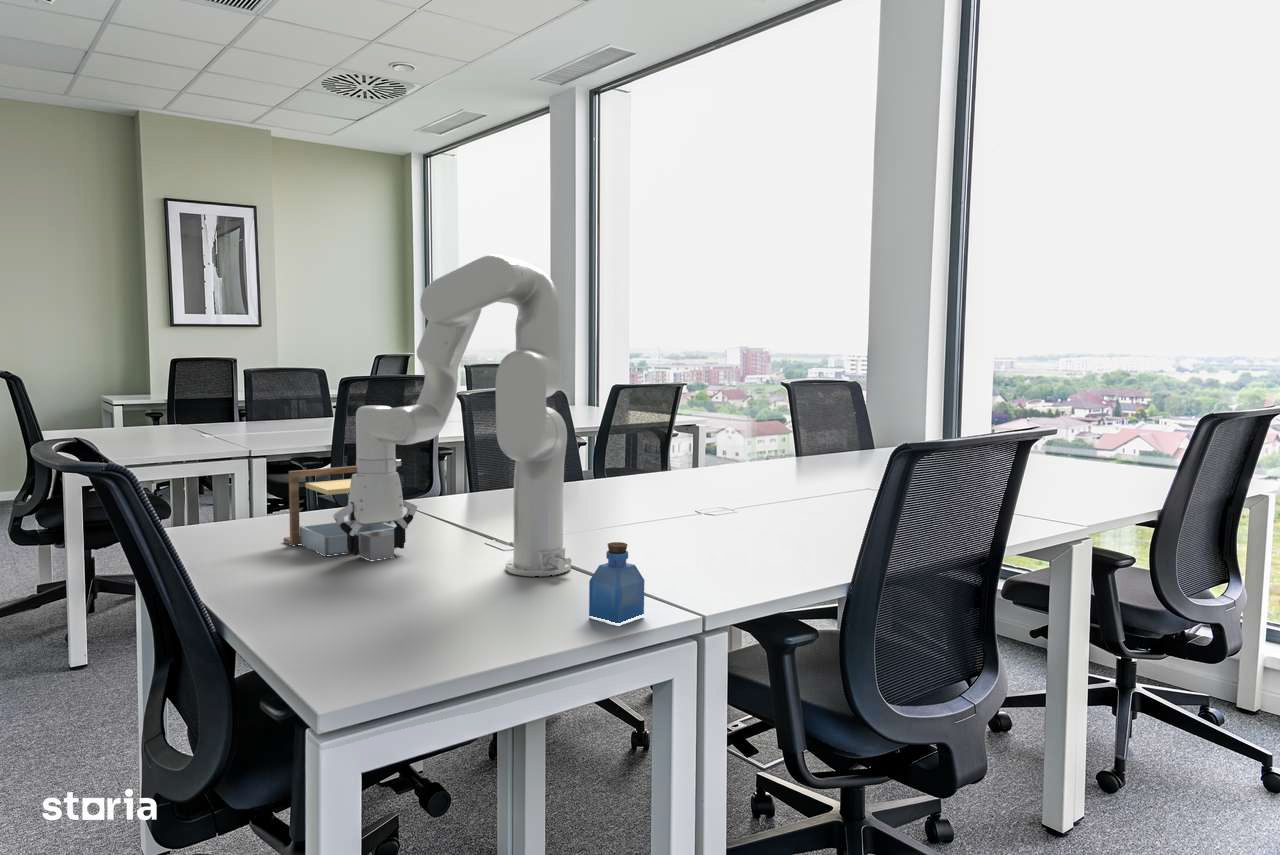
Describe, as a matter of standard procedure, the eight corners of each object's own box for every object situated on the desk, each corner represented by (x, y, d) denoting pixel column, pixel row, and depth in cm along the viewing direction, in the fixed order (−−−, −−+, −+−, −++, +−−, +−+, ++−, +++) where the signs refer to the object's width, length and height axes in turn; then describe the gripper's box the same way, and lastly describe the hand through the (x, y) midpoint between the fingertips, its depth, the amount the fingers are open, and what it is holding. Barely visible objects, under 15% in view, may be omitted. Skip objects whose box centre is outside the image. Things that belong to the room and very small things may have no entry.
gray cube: (394, 558, 173) (394, 534, 173) (370, 562, 170) (370, 537, 170) (383, 553, 177) (383, 530, 177) (360, 557, 174) (359, 533, 173)
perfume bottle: (614, 610, 141) (615, 538, 139) (643, 618, 137) (645, 544, 136) (589, 618, 136) (589, 544, 135) (618, 627, 132) (619, 550, 131)
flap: (392, 488, 182) (392, 483, 182) (327, 494, 173) (327, 490, 173) (368, 481, 191) (368, 477, 191) (305, 487, 182) (305, 482, 182)
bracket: (380, 534, 194) (379, 465, 193) (293, 546, 182) (291, 472, 180) (369, 530, 199) (368, 462, 197) (283, 542, 186) (282, 469, 184)
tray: (399, 546, 184) (399, 527, 183) (325, 557, 173) (325, 537, 173) (371, 535, 194) (371, 517, 194) (300, 545, 183) (299, 526, 183)
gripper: (407, 461, 180) (407, 541, 182) (326, 468, 169) (327, 553, 170) (424, 465, 175) (424, 548, 176) (341, 472, 163) (342, 560, 165)
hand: (376, 550), depth 173 cm, fingers open, 9 cm apart
